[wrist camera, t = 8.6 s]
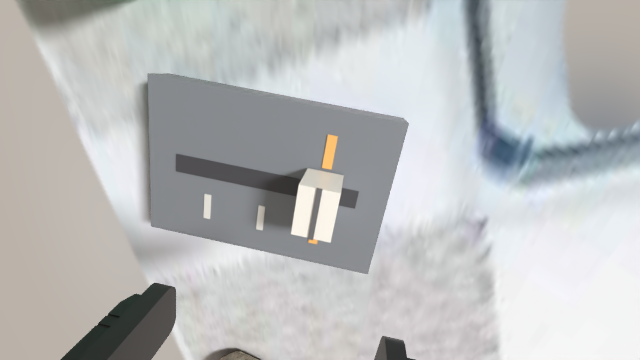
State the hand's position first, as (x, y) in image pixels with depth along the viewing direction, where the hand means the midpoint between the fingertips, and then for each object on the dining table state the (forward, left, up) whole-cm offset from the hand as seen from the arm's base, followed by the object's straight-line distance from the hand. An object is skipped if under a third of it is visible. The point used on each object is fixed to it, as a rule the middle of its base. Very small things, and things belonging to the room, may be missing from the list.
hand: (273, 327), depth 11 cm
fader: (0, 0, -15) cm, 15 cm away
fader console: (0, -5, -18) cm, 19 cm away
